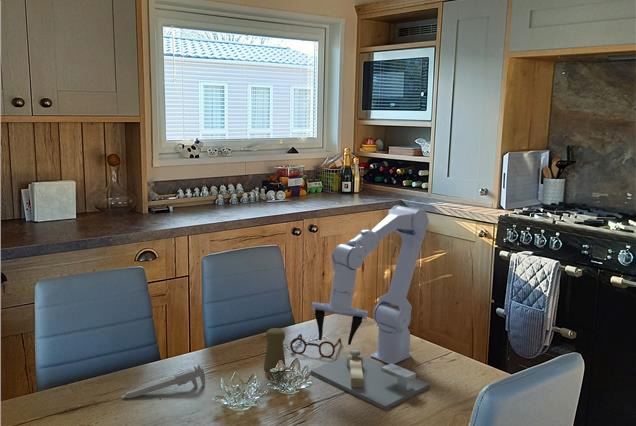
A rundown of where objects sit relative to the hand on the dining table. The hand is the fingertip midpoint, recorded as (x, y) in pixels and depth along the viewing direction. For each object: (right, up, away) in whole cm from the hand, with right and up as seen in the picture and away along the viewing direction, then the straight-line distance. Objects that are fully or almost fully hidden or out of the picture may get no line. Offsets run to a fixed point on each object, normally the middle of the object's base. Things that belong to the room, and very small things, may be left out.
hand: (334, 341), depth 159 cm
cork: (-16, -9, +8) cm, 20 cm away
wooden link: (+6, -9, +3) cm, 11 cm away
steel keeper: (+16, -11, -2) cm, 20 cm away
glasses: (-5, -7, +23) cm, 25 cm away
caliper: (-43, -11, -8) cm, 45 cm away
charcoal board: (+9, -11, +2) cm, 14 cm away
